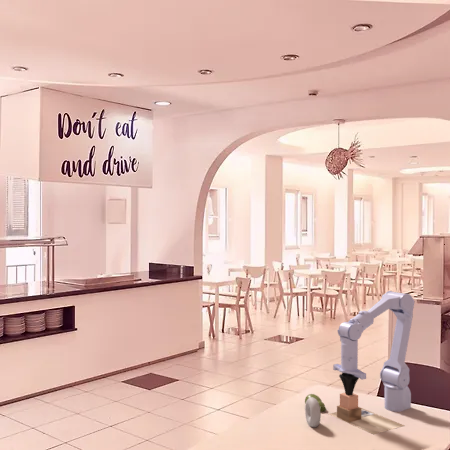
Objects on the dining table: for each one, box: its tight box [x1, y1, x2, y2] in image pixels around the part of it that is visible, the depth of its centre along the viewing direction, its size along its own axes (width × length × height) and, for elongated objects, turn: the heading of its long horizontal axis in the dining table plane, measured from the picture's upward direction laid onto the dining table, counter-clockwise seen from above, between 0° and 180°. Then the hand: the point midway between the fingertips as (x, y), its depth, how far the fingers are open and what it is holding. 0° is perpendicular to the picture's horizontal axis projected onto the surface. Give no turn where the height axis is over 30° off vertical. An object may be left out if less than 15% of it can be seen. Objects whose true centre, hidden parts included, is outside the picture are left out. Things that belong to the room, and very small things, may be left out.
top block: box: [339, 392, 359, 410], centre depth 197 cm, size 4×4×4 cm
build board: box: [328, 407, 405, 435], centre depth 196 cm, size 15×22×1 cm
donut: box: [304, 397, 322, 428], centre depth 191 cm, size 10×4×10 cm, turn 8°
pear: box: [304, 393, 327, 413], centre depth 208 cm, size 6×5×10 cm
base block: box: [336, 404, 362, 423], centre depth 197 cm, size 6×6×4 cm
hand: (349, 394), depth 197 cm, fingers closed, pressing on top block
